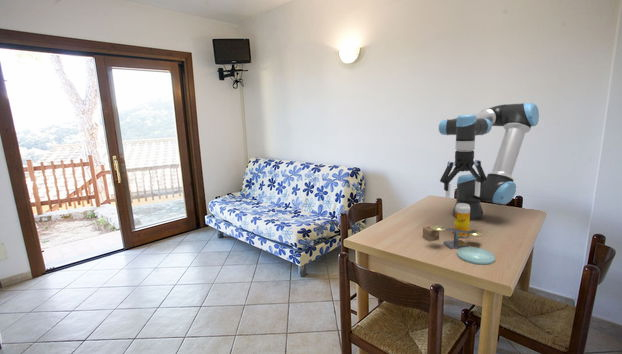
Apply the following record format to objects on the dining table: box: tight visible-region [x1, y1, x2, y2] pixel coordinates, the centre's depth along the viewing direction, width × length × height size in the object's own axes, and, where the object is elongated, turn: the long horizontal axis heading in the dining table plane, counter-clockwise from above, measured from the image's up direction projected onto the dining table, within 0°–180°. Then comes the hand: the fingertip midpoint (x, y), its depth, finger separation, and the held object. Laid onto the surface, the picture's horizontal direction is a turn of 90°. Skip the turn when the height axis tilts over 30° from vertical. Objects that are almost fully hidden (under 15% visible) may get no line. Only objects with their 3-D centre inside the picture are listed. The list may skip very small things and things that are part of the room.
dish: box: [456, 246, 496, 265], centre depth 115 cm, size 13×13×1 cm
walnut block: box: [422, 225, 440, 242], centre depth 134 cm, size 5×5×5 cm
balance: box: [430, 224, 484, 250], centre depth 126 cm, size 22×7×9 cm, turn 92°
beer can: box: [453, 203, 471, 239], centre depth 135 cm, size 6×6×15 cm
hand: (462, 196), depth 133 cm, fingers open, 13 cm apart
